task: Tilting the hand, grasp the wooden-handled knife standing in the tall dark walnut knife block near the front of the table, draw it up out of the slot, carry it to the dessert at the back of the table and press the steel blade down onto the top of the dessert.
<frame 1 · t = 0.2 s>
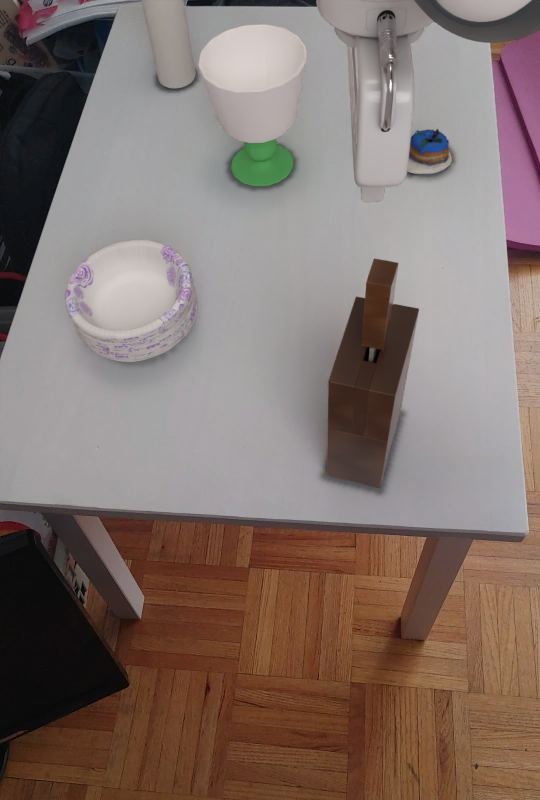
hand: (369, 156, 58), 29 cm above the table, tool pointing down, fingers open, 8 cm apart
cup: (262, 166, 101), on the table
knife block: (364, 443, 79), on the table
knife: (369, 394, 70), point 10 cm above the table, touching knife block
dessert: (423, 159, 99), on the table
paper towel roll: (178, 76, 112), on the table
paper bowls: (143, 329, 89), on the table
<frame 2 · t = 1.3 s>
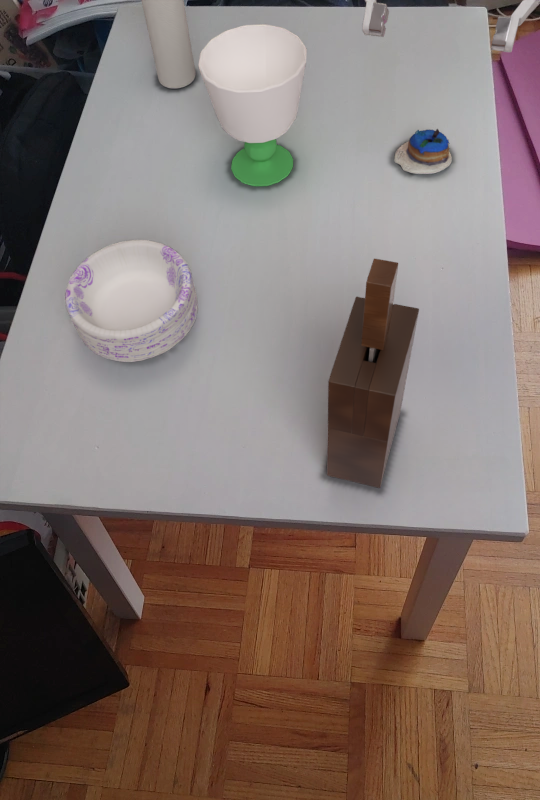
hand: (435, 41, 51), 37 cm above the table, tool tilted 45°, fingers open, 8 cm apart
nothing on the table moved.
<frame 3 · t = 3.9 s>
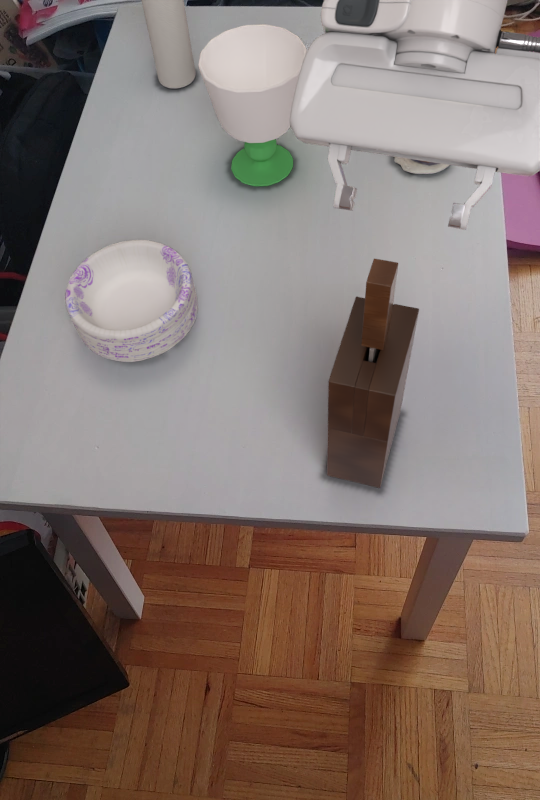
hand: (399, 218, 57), 27 cm above the table, tool tilted 45°, fingers open, 8 cm apart
nothing on the table moved.
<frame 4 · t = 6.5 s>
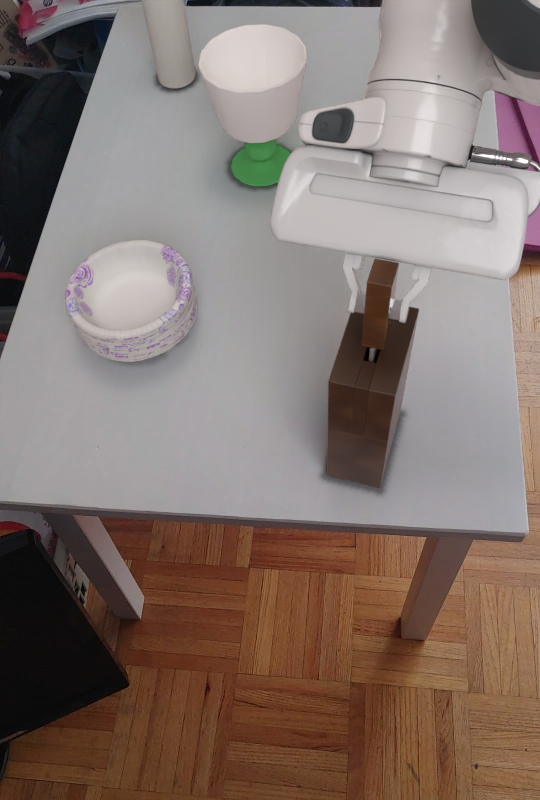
hand: (376, 317, 59), 22 cm above the table, tool tilted 45°, fingers closed on knife, 2 cm apart
knife: (369, 394, 70), point 10 cm above the table, touching gripper, knife block
everything else where it was.
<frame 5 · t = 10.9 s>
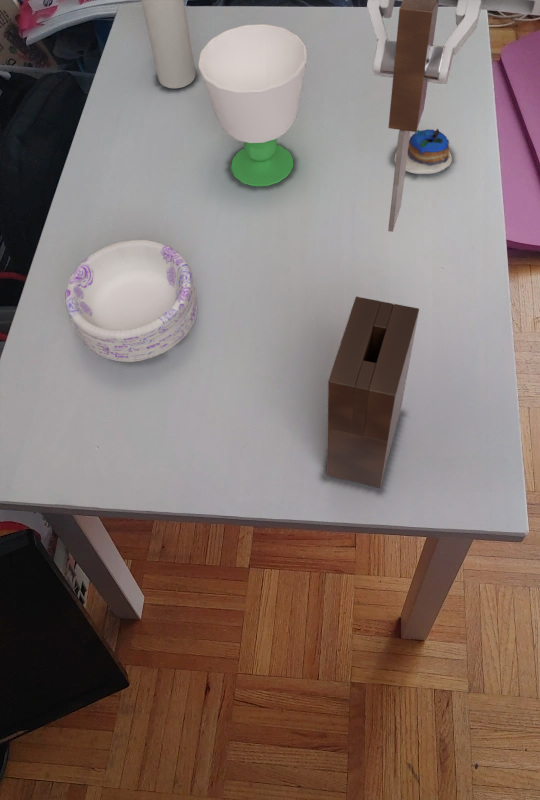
hand: (409, 78, 46), 39 cm above the table, tool tilted 45°, fingers closed on knife
knife: (394, 218, 57), point 27 cm above the table, touching gripper
everything else where it was.
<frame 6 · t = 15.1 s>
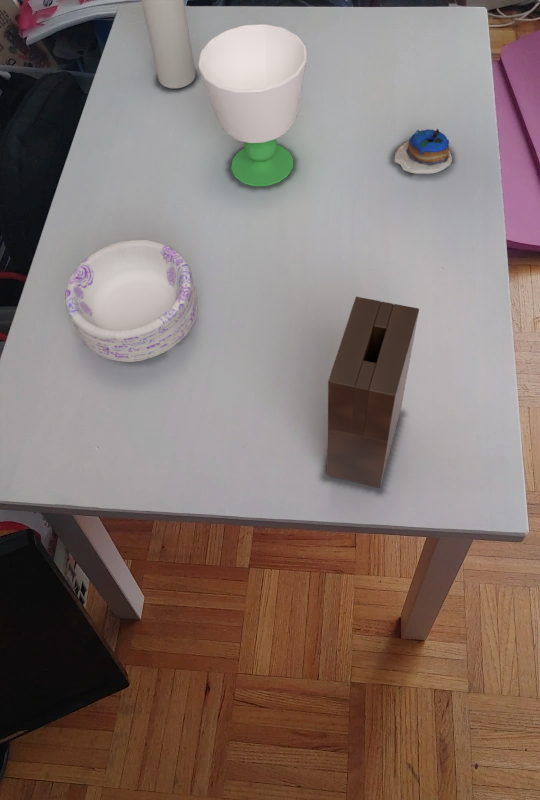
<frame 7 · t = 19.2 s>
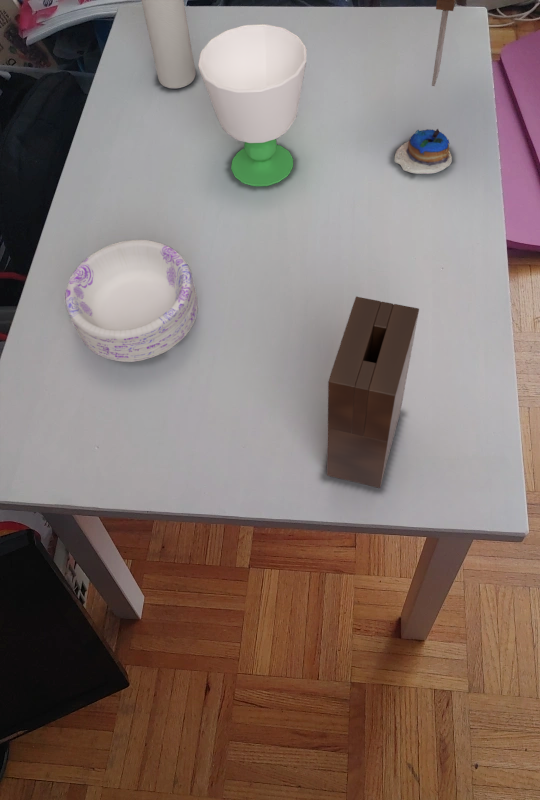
knife: (435, 78, 89), point 12 cm above the table, touching gripper
everything else where it was.
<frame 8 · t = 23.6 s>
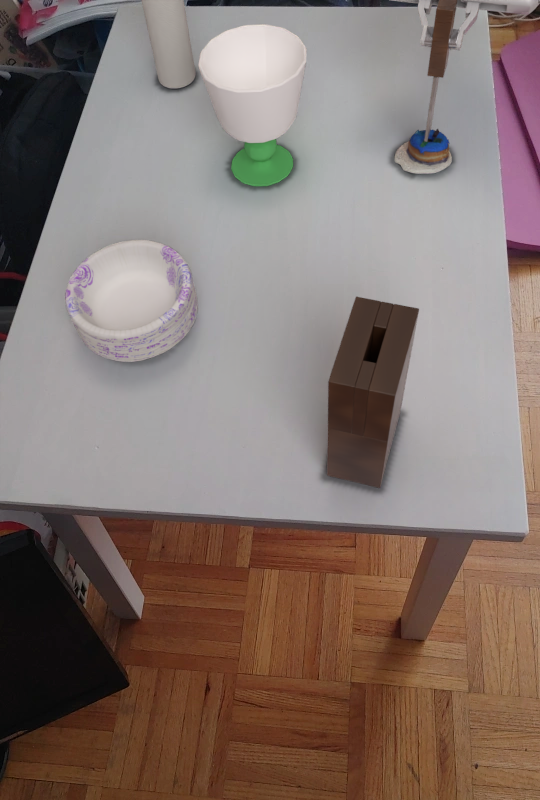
hand: (439, 47, 85), 16 cm above the table, tool tilted 45°, fingers closed on knife, 2 cm apart
knife: (427, 134, 96), point 4 cm above the table, touching dessert, gripper
dessert: (423, 159, 99), on the table, touching knife
everything else where it was.
at the end: knife touching dessert, gripper; the gripper is holding knife; dessert moved 0.2 cm from its start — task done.
